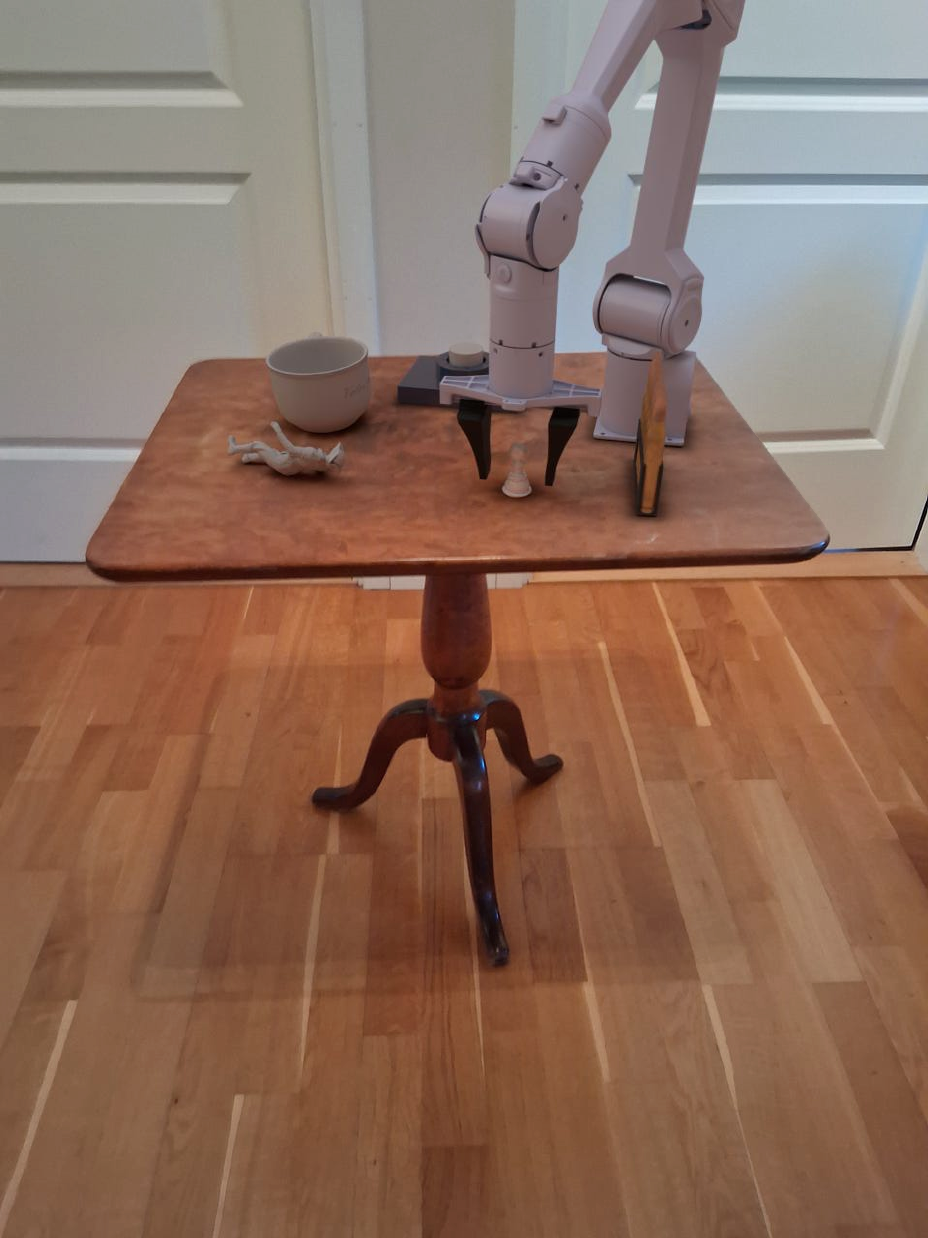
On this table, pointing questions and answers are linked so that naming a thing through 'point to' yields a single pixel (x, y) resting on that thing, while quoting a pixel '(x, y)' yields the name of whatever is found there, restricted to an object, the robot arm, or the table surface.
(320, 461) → the soldier figure
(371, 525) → the table surface
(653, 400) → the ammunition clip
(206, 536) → the table surface
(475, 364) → the pale grey cylinder
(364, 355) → the teacup
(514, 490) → the chess pawn
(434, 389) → the dark ring socket base
